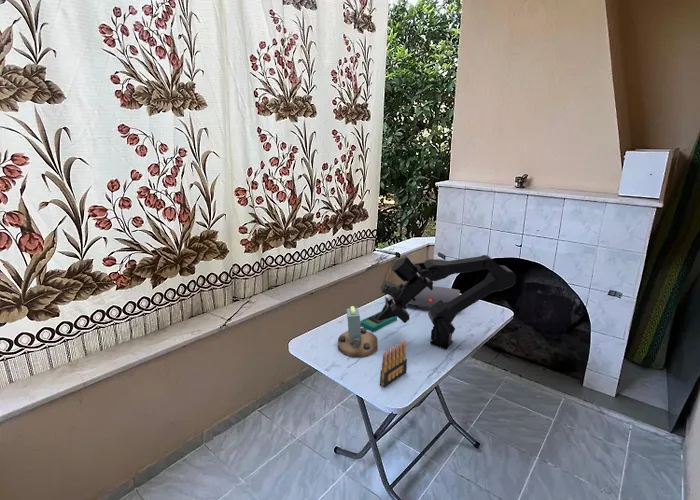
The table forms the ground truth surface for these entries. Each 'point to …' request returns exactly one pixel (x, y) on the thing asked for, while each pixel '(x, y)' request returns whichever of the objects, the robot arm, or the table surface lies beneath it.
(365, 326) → the digital multimeter
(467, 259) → the robot arm
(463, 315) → the table surface
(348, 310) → the post
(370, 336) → the levelling base
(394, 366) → the ammunition clip
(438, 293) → the bluetooth speaker
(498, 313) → the table surface
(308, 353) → the table surface
